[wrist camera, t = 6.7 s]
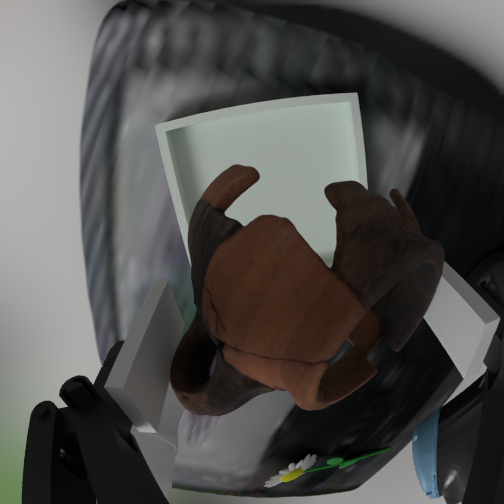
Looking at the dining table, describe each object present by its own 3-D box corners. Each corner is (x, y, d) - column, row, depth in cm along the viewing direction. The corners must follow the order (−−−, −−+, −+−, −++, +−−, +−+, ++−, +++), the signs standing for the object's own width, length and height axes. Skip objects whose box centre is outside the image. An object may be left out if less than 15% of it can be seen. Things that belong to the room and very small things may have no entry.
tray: (348, 94, 24) (357, 92, 22) (361, 260, 31) (369, 271, 29) (162, 124, 25) (154, 125, 23) (204, 286, 33) (200, 298, 30)
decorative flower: (395, 426, 52) (263, 456, 48) (403, 443, 48) (267, 476, 43) (375, 449, 58) (258, 474, 54) (381, 464, 54) (261, 492, 49)
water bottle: (175, 400, 42) (149, 544, 19) (135, 380, 40) (91, 525, 17) (198, 380, 40) (175, 546, 17) (154, 357, 38) (106, 526, 15)
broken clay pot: (263, 97, 11) (451, 146, 5) (349, 213, 18) (458, 284, 12) (94, 310, 12) (143, 481, 6) (225, 355, 19) (296, 456, 13)
